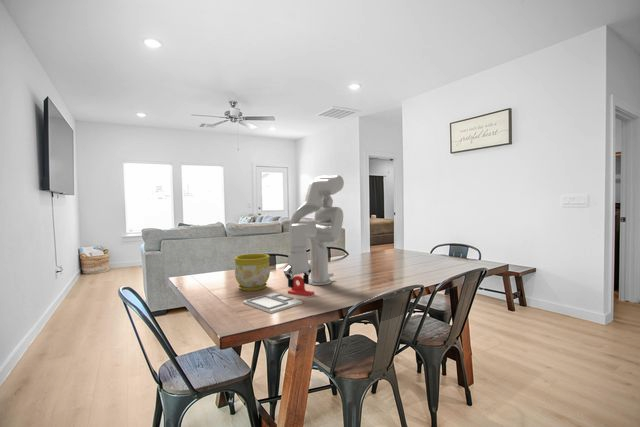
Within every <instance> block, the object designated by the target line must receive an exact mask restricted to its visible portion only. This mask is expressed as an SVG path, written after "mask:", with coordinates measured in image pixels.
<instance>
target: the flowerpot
mask: <svg viewBox="0 0 640 427" xmlns="http://www.w3.org/2000/svg"><path fill="white" fill-rule="evenodd" d="M233 259H234V261H235V262H234V264H235V265H234V275H235V280H236V281H237V283H238V284H239V285H238V287H239V288H240V290H241V291H247V292H252V291H253V292H255V291H261V290H263V289H265V288H266V286H267V285H268V283H267V282H268V280H269V278H270V275H271V269H270V268H271V267H270V259H271V258H270V255H269V254H266V253H247V254H246V253H245V254H239V255H236V256H234V258H233Z"/></svg>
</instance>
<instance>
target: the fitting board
mask: <svg viewBox="0 0 640 427" xmlns="http://www.w3.org/2000/svg"><path fill="white" fill-rule="evenodd" d="M242 303H243V304H245V305H247V306H250V307H253V308H256V309H258V310H261V311H264V312H267V313H270V314H274V313H276V312H280V311H282V310H286V309H288V308H289V309H290V308H292V307H295V306H298V305H302V304H303V301H302V300H299V299H296V298H294V297H293V296H289V295H286V294H283V293H275V292H271V293H269V294H268V293H267V294H263V295H260V296H256V297H253V298H249V299H245V300H243V302H242Z"/></svg>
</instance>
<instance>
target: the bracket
mask: <svg viewBox="0 0 640 427" xmlns="http://www.w3.org/2000/svg"><path fill="white" fill-rule="evenodd" d="M292 279H293V280H294V287H293V288H291V287H290V288H291V289H289V290H288V291H287V294H292V295H298V294H299V296H306V297H310V296H312V295H314V294H315V290H314V291H313V290H312V291H311V290H306V289H305V284H304V280H303V277H302V276H301V275H294V277H293V278H292ZM297 281H298V282H299V285H298V284H297Z"/></svg>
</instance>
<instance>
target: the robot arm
mask: <svg viewBox="0 0 640 427" xmlns="http://www.w3.org/2000/svg"><path fill="white" fill-rule="evenodd" d="M344 182H345V181H344V178H343V177H342V175H339V174H338V175H337V174H336V175H335V174H333V175H320V176H316V177H315V178H314V180H311V181H310V183H309V184H308V188H307V192H306V194H305V199H304V203H303V204H302V205H300V206H299V207H298V208H297V209H296V211H295V212H293V214H292V216H291V219H290V222H289V225H288V234H289V237H290V238H289V242H290V243H289V244H290V245H289V246H290V247H289V248H290V250H289V251H290V252H289V253H288V257H287V267H286V268H285V269H283V273H284V276H285V277H286V279H287V288H293V287H294V280H293V277H295V276H297V275H301V274H303V277H302V278H303V280H304V285H305V284H306V285H312V286H325V285H330V284H331V283H332V280H331V279H330V278H332V277H334V275H335V274H334V273H333V272H331V273H329V255H328V254H329V251H328V248H327V246H326V244H325V243H332V244H334V243H338V242H339V241H340V237H341V233H342V229H343V228H342V227H343V223H344V212H343V209H342V208H341V207H338V206H333V203H334V200H333V198H332V196H333V195H336V194H337V193H338V192H341V191H342V189H343V188H344V184H345V183H344ZM313 213H314V221H315V223H316V224H315V223H314V222H313V223H312V222H301V221H302V219H304V218H305V217H307V216H309V215H311V214H313ZM307 239H308V241H309V254H310V255H309V257H310V258H309V257H308V253H307V249H308V246H307ZM309 260H310V263H309ZM309 276H310V277H309Z"/></svg>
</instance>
